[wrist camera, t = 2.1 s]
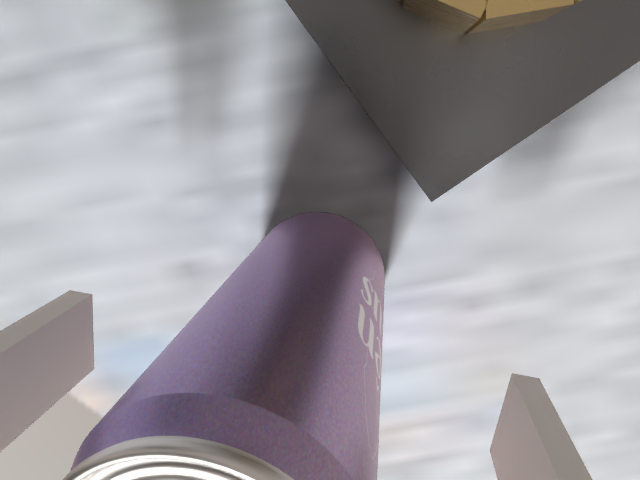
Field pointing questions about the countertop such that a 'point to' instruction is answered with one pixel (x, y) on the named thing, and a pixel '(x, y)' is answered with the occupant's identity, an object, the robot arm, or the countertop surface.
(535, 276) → the countertop surface
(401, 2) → the pipe socket
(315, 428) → the beverage can
